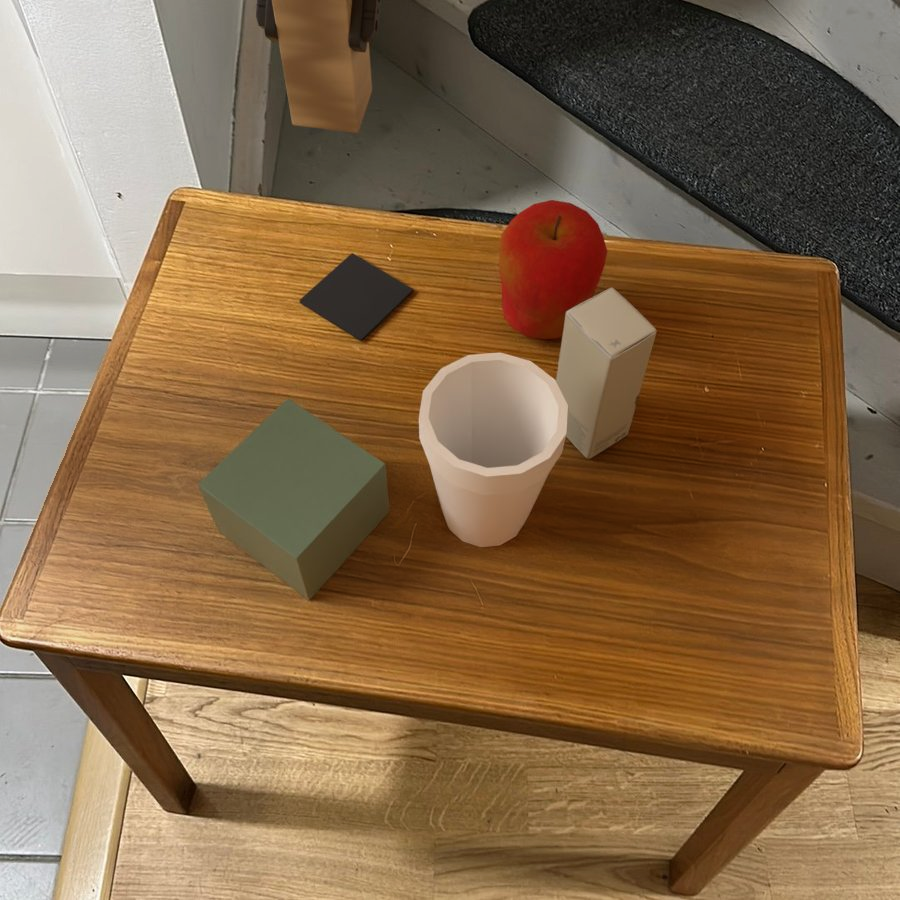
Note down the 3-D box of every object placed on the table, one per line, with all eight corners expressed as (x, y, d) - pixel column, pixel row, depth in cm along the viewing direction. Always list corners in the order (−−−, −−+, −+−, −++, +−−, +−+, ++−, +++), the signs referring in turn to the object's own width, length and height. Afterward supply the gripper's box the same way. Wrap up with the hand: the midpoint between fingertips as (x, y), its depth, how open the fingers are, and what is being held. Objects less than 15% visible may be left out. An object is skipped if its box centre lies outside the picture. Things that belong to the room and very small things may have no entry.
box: (629, 436, 73) (663, 332, 62) (585, 462, 71) (613, 361, 60) (587, 390, 75) (613, 283, 64) (544, 415, 74) (563, 310, 63)
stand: (217, 531, 68) (196, 484, 62) (300, 449, 72) (287, 397, 66) (309, 601, 65) (296, 558, 59) (389, 511, 69) (385, 463, 63)
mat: (299, 303, 80) (299, 300, 79) (352, 255, 83) (352, 252, 82) (361, 342, 77) (361, 339, 77) (413, 292, 80) (413, 289, 80)
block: (292, 125, 61) (268, -19, 53) (308, 82, 64) (288, -63, 55) (358, 133, 61) (345, -11, 52) (372, 90, 63) (362, -55, 55)
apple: (502, 273, 82) (511, 168, 72) (597, 288, 81) (619, 184, 71) (485, 348, 77) (492, 248, 67) (585, 365, 76) (607, 265, 66)
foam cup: (464, 589, 66) (470, 501, 55) (398, 492, 70) (391, 393, 59) (572, 526, 69) (598, 431, 57) (503, 436, 73) (514, 331, 62)
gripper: (195, -329, 49) (178, 18, 53) (461, -307, 48) (423, 45, 52) (241, -256, 56) (223, 44, 60) (473, -235, 55) (439, 69, 59)
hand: (316, 43), depth 56 cm, fingers closed on block, 4 cm apart
